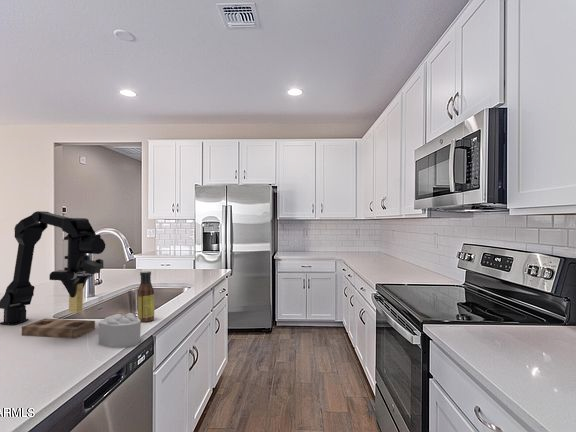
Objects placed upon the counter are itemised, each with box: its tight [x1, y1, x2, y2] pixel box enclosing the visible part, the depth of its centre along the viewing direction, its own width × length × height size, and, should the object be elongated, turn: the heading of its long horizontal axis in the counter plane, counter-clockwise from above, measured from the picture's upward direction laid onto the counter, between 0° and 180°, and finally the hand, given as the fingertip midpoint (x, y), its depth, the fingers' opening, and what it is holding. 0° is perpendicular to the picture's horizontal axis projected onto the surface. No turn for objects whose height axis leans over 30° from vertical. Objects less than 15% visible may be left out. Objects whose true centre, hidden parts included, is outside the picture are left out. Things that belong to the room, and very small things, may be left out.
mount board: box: [21, 318, 96, 339], centre depth 123 cm, size 20×10×3 cm, turn 85°
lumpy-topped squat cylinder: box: [98, 312, 142, 349], centre depth 115 cm, size 10×13×9 cm
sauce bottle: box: [137, 270, 155, 323], centre depth 139 cm, size 7×6×20 cm
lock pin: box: [68, 283, 84, 314], centre depth 122 cm, size 3×3×10 cm
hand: (75, 296), depth 122 cm, fingers closed on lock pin, 3 cm apart
